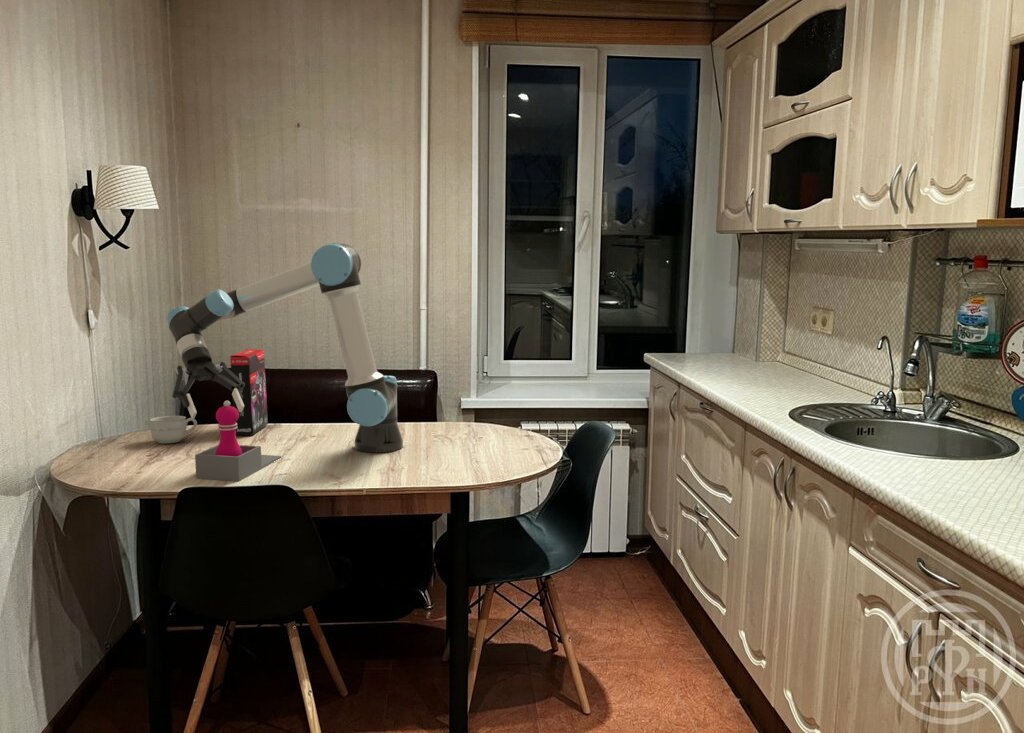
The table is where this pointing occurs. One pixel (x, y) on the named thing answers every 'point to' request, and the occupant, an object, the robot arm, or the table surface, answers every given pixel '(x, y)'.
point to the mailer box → (231, 463)
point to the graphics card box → (251, 391)
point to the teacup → (170, 428)
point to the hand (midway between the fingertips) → (218, 412)
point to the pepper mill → (228, 431)
